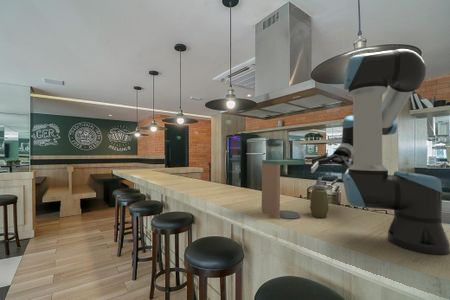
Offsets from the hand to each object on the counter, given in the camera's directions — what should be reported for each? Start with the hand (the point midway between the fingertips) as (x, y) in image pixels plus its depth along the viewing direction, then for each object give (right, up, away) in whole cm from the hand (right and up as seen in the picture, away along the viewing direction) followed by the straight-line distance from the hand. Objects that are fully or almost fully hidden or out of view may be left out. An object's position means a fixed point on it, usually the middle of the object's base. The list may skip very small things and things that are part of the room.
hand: (327, 174), depth 96 cm
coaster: (-16, -20, +6) cm, 26 cm away
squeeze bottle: (-1, -20, +5) cm, 21 cm away
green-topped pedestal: (-17, -20, +9) cm, 28 cm away
